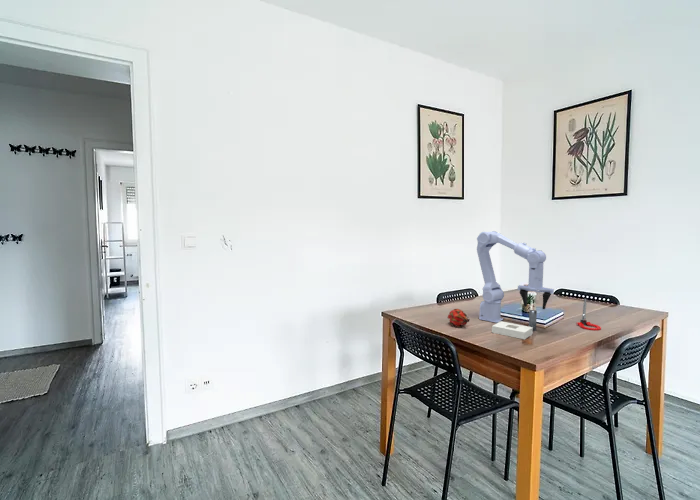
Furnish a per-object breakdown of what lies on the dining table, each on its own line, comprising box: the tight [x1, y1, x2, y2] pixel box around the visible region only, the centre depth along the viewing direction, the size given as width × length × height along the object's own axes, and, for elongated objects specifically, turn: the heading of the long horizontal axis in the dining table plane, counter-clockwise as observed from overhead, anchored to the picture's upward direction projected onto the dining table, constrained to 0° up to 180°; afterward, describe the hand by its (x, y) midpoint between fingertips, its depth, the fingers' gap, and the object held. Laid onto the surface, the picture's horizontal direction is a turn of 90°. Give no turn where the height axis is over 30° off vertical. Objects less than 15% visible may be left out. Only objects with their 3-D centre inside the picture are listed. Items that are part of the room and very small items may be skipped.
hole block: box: [491, 320, 534, 340], centre depth 166 cm, size 14×10×3 cm
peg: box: [528, 309, 538, 332], centre depth 170 cm, size 3×3×9 cm
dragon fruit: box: [447, 308, 470, 328], centre depth 178 cm, size 8×8×12 cm
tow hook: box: [575, 298, 602, 332], centre depth 173 cm, size 8×13×9 cm
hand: (534, 307), depth 169 cm, fingers open, 7 cm apart
